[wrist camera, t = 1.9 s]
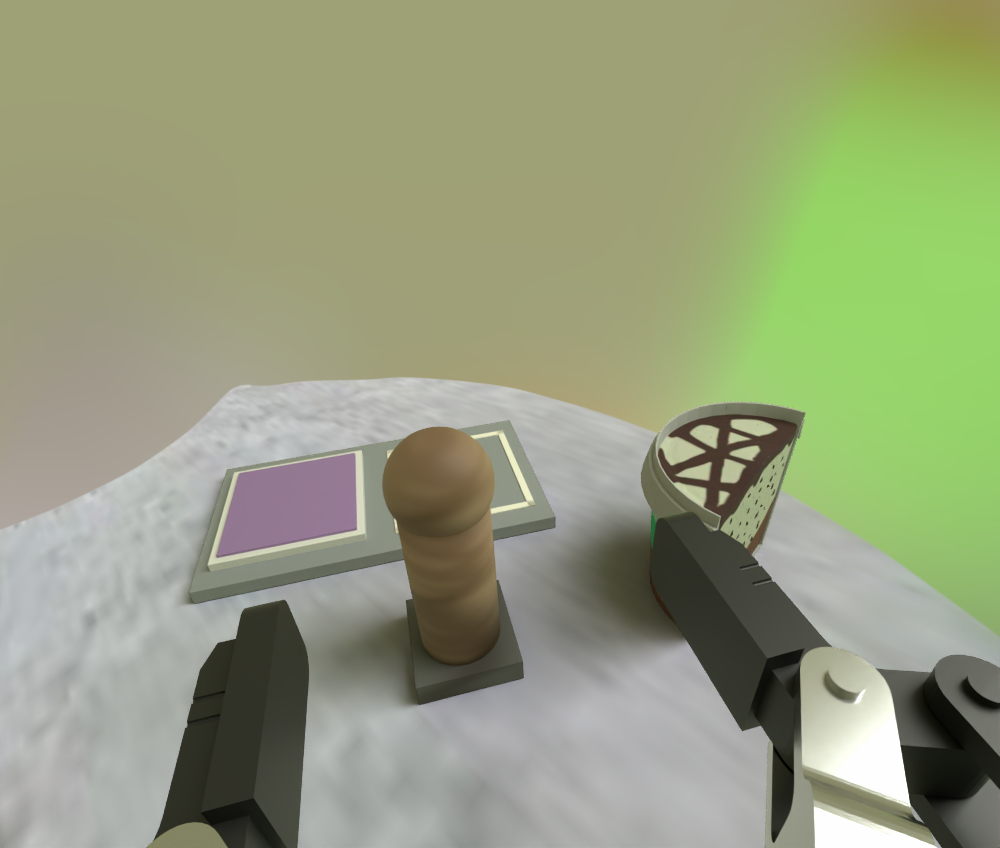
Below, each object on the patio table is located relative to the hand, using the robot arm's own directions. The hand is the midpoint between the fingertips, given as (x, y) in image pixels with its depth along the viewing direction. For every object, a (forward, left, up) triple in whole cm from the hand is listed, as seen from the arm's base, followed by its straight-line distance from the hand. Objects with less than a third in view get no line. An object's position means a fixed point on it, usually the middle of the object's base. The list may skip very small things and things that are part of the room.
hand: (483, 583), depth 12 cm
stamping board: (-4, +25, -18) cm, 31 cm away
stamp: (0, +11, -18) cm, 21 cm away
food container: (+15, +13, -18) cm, 27 cm away
